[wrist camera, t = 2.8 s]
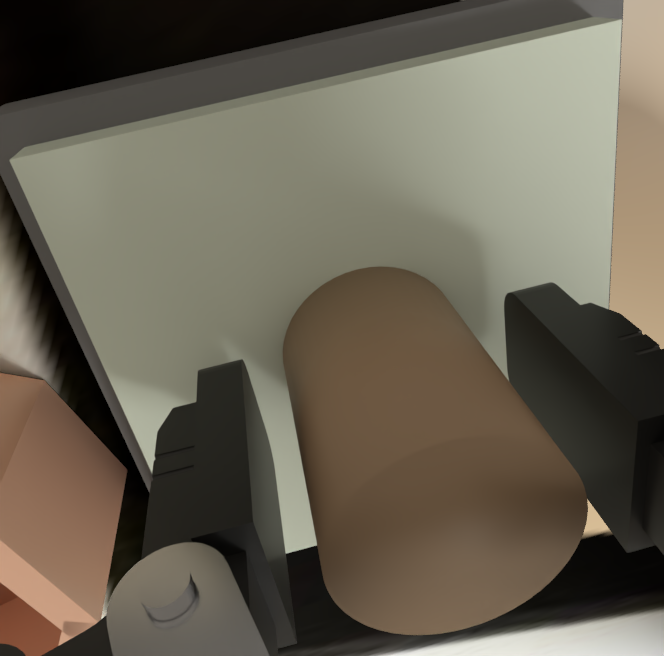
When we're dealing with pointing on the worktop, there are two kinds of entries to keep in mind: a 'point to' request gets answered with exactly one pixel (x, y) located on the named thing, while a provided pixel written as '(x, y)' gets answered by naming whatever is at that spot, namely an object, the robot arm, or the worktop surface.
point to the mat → (248, 79)
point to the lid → (362, 298)
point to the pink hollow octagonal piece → (52, 518)
